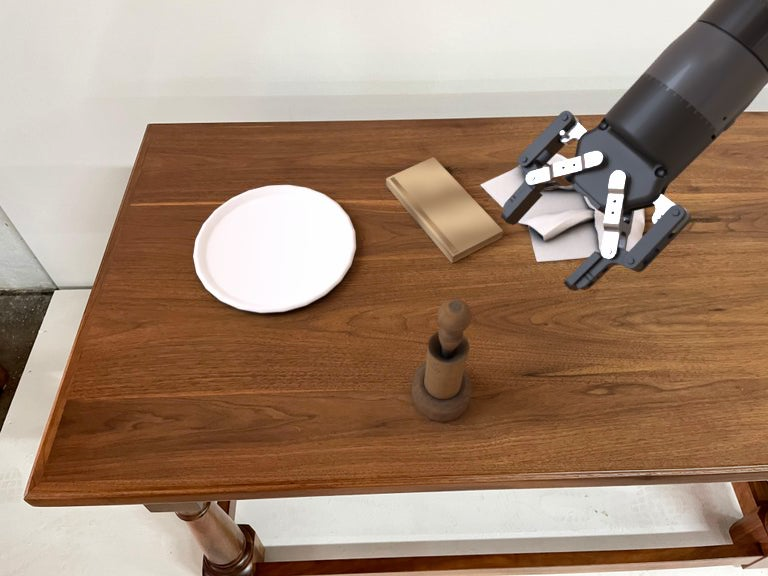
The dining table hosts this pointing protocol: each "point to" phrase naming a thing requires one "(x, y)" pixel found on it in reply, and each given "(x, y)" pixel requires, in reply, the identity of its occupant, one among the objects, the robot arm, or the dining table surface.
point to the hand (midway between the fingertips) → (537, 253)
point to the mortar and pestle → (445, 367)
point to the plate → (274, 249)
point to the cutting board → (444, 209)
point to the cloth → (560, 218)
